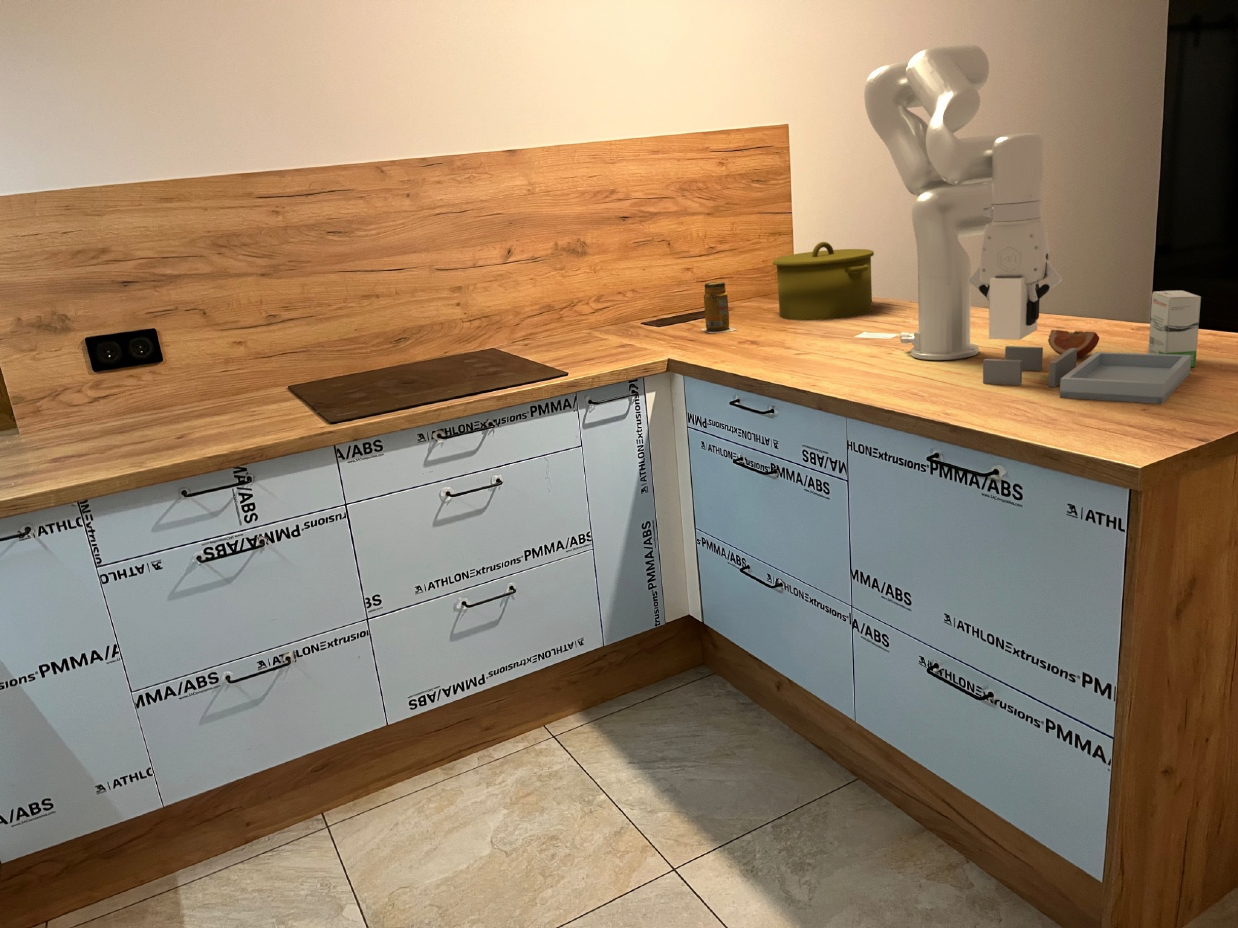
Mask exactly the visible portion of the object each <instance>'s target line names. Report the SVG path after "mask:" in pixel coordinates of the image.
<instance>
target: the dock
mask: <svg viewBox="0 0 1238 928" xmlns="http://www.w3.org/2000/svg"><path fill="white" fill-rule="evenodd" d="M1004 350H1005V351H1004V353H1005V354H1004V359H1000V358H999V359H997V358H985V359H983V362H982V364H983V365H982V376H983V377H982V383H983V384H989V385H991V384H993V385H1006V386H1007V385H1008V386H1021V385H1023V384H1022V382H1023V371H1031V372H1032V371H1033V372H1035V371H1036V372H1041V371H1043V355H1044V354H1043V353H1044V352H1043V351H1044V347H1043V346H1019V345H1017V346H1016V345H1006V346H1005V349H1004ZM1077 359H1078V358H1077V348H1070V349H1068V350H1067V351H1066V352H1064V353H1063V354H1061V355H1060V354H1059V356H1057V357H1056V358H1054V359H1053V360H1051V361H1050V362H1049V363H1048V384H1047V385H1048V388H1056V387H1058V386H1060V381H1061V378H1062V377H1063V376H1065V375H1066V374H1067V373H1069V372H1070V371H1071V370H1073V369H1074V368H1075V367H1077Z"/></svg>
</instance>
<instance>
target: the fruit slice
mask: <svg viewBox="0 0 1238 928" xmlns="http://www.w3.org/2000/svg"><path fill="white" fill-rule="evenodd" d="M1049 333H1050V334H1049V336H1048V340H1047V341H1048V345H1049V346H1050V347H1051V349H1052V350H1053V351H1054V352H1055V353H1056V354H1058V355H1059V356H1060V355H1061V354H1063V353H1064V352H1066V351H1067V350H1068V349H1070V348H1077V359H1078V358H1083V357H1085V356H1087V355H1088V354H1090V353H1092V351H1093V350H1095V348H1096V347H1097V345H1098V343H1099V341H1100V336H1099V335H1098V333H1096V331H1082V330H1077V331H1076V330H1075V331H1074V332H1072V331H1068V330H1061V329H1051V330H1050V332H1049Z"/></svg>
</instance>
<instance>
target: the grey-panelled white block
mask: <svg viewBox="0 0 1238 928" xmlns="http://www.w3.org/2000/svg"><path fill="white" fill-rule="evenodd" d="M989 286H990V305H988V306H989V308H988V318H989V319H988V339H989V340H1009V341H1010V340H1011V341H1012V340H1013V341H1014V340H1015V341H1020V340H1022V339H1024V338H1026V337H1027V336H1029V335H1031V334H1032V333H1034V332H1036V331H1037V330H1038V319H1037V320H1036V322H1035V323H1034V324H1032V325H1031V326H1027V325H1026V311H1027V302H1028V301H1029V294H1028V290H1027V285H1025V277H1022V275H1019V276H995V278H991V279H990V285H989Z"/></svg>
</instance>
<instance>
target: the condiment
mask: <svg viewBox="0 0 1238 928" xmlns="http://www.w3.org/2000/svg"><path fill="white" fill-rule="evenodd" d="M703 305H704V306H703V307H704V319H705V327H706V328H701V329H700V330H701V331H702V332H706V333H708V334H718V333H721V334H722V333H727V332H728V333H729V332H733V331H737V330H738V329H737V328H734V327H731V326H730V311H729V297H728V293H727V292H726V283H725V282H724V281H712V282H706V283H704V294H703Z"/></svg>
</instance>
